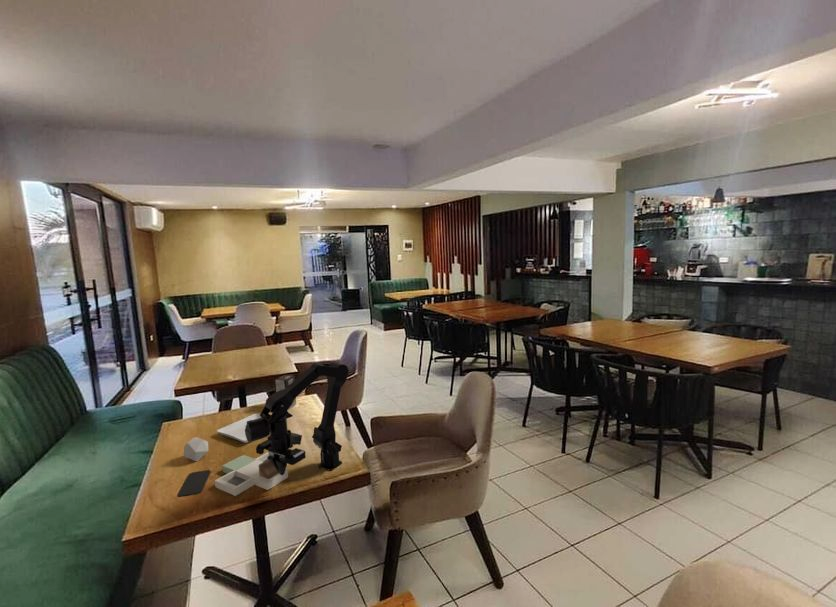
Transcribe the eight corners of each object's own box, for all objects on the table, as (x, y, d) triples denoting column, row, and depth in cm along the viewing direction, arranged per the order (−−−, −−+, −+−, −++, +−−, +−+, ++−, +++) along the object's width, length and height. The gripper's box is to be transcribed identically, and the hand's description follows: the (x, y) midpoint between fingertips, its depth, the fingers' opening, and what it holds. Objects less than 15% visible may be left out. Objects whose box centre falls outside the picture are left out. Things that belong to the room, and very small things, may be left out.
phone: (176, 496, 137) (189, 472, 151) (176, 498, 137) (189, 474, 151) (200, 492, 138) (211, 469, 153) (200, 494, 138) (211, 471, 153)
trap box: (303, 467, 153) (303, 461, 153) (248, 502, 133) (248, 494, 132) (259, 452, 166) (259, 446, 165) (203, 481, 145) (202, 475, 145)
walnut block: (280, 472, 145) (279, 461, 145) (268, 479, 141) (268, 468, 141) (271, 468, 148) (270, 458, 147) (259, 475, 144) (258, 465, 143)
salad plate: (245, 447, 171) (244, 440, 170) (215, 437, 182) (215, 429, 182) (285, 428, 189) (285, 421, 188) (256, 419, 200) (255, 413, 199)
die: (214, 458, 164) (212, 433, 168) (197, 457, 156) (196, 431, 160) (196, 465, 164) (194, 440, 169) (178, 465, 156) (177, 439, 161)
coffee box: (288, 410, 210) (286, 380, 207) (277, 409, 211) (274, 379, 209) (297, 403, 218) (294, 374, 216) (286, 403, 220) (283, 374, 218)
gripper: (315, 428, 141) (318, 470, 143) (278, 418, 151) (282, 457, 153) (290, 441, 132) (294, 486, 134) (253, 430, 141) (257, 472, 143)
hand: (282, 474), depth 141 cm, fingers closed
